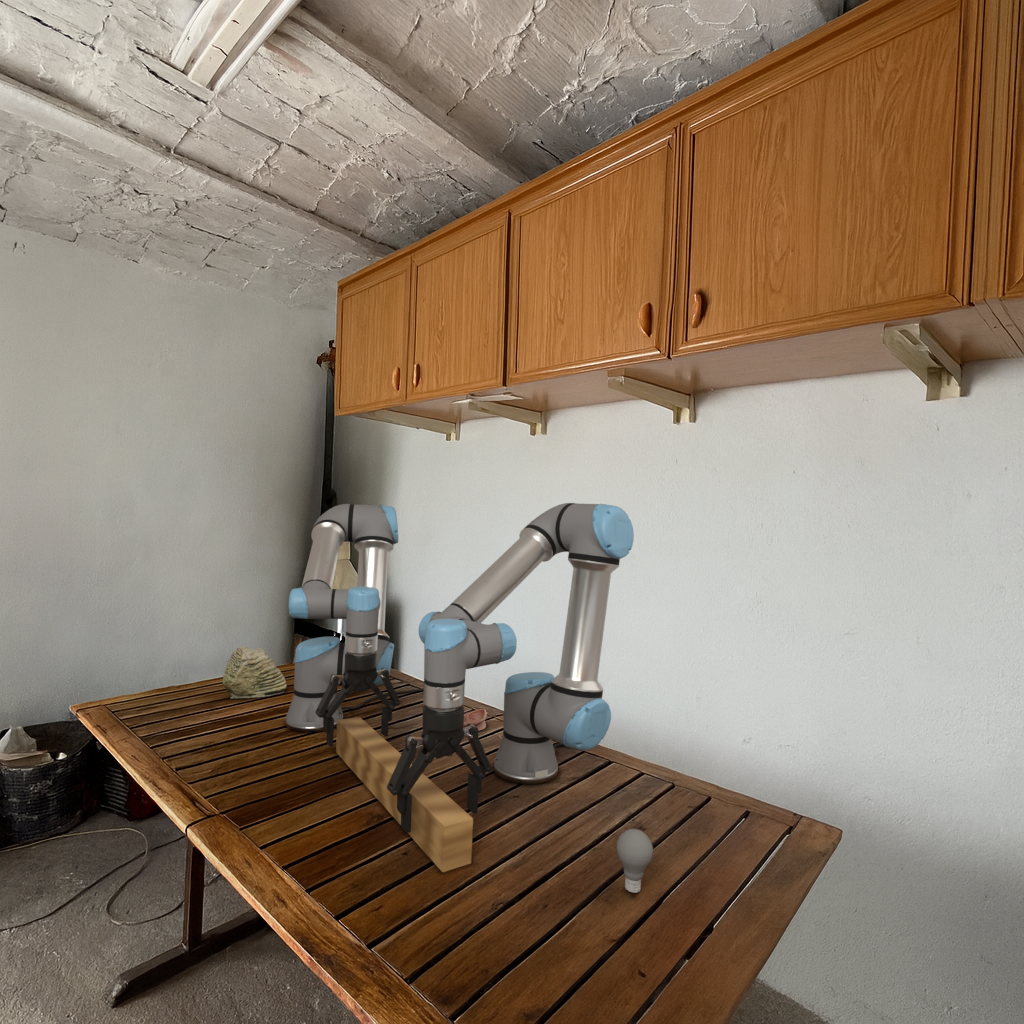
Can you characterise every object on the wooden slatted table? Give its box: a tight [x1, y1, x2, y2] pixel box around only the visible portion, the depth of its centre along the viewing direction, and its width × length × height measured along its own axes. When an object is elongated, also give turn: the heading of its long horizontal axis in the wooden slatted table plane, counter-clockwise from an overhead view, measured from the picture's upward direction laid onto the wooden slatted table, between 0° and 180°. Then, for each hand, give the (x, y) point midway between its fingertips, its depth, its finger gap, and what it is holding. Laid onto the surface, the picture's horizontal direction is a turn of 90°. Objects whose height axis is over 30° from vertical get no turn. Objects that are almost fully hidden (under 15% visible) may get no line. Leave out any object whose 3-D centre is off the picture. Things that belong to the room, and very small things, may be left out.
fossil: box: [222, 646, 288, 699], centre depth 198 cm, size 9×18×15 cm, turn 132°
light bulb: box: [615, 828, 654, 894], centre depth 106 cm, size 6×6×10 cm
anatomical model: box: [463, 708, 488, 732], centre depth 178 cm, size 13×4×12 cm
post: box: [335, 716, 474, 873], centre depth 134 cm, size 58×6×8 cm, turn 33°
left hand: (357, 739), depth 153 cm, fingers open, 13 cm apart
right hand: (439, 819), depth 116 cm, fingers open, 13 cm apart
